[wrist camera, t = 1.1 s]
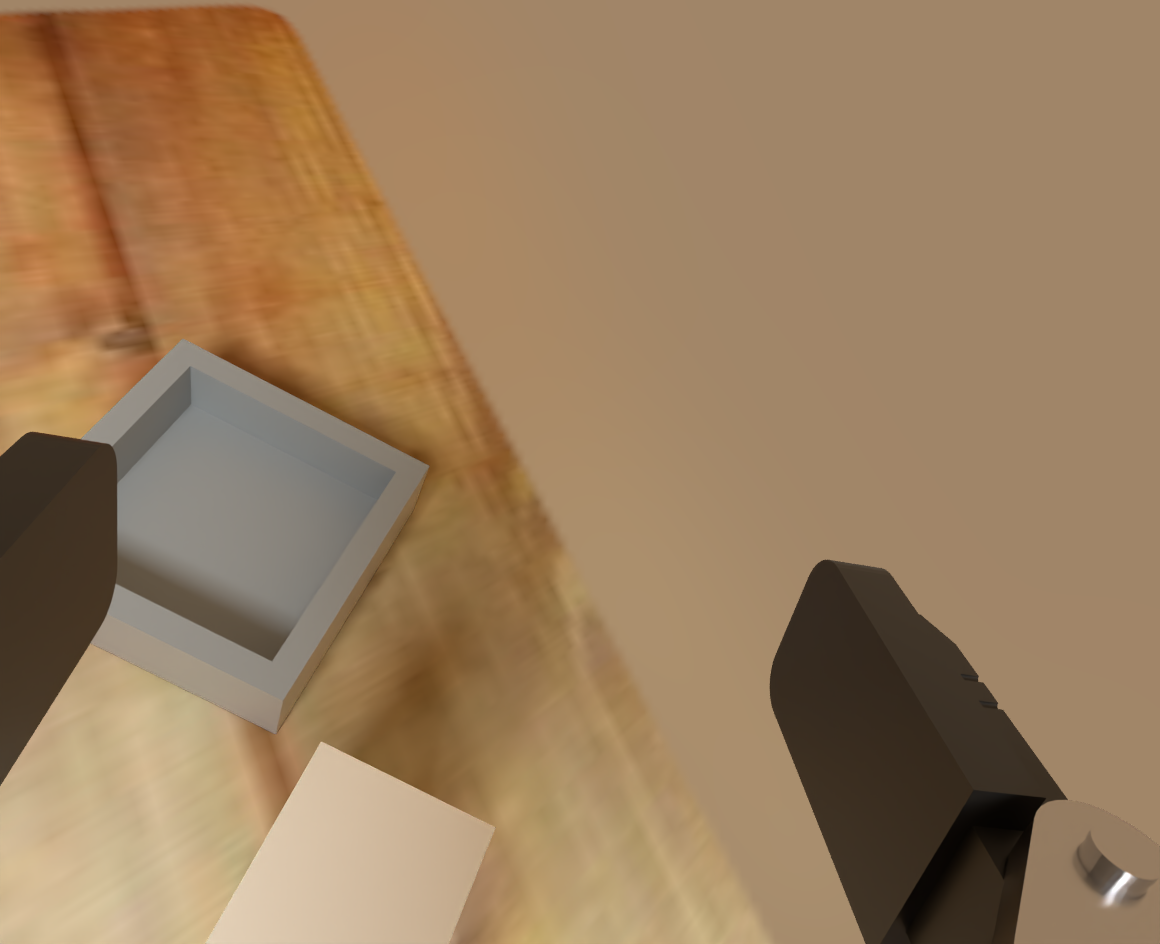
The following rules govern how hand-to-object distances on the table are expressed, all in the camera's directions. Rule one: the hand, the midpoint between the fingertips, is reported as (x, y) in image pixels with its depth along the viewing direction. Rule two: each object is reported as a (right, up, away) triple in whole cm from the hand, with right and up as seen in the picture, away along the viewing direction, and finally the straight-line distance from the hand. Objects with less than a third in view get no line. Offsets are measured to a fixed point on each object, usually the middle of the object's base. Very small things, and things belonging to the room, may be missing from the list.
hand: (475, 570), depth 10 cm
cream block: (-7, -14, +18) cm, 24 cm away
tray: (-13, -2, +24) cm, 27 cm away
